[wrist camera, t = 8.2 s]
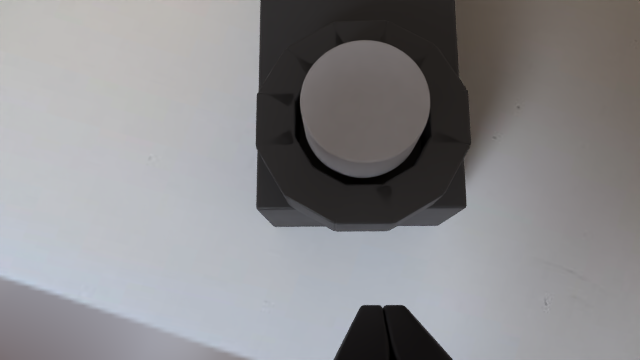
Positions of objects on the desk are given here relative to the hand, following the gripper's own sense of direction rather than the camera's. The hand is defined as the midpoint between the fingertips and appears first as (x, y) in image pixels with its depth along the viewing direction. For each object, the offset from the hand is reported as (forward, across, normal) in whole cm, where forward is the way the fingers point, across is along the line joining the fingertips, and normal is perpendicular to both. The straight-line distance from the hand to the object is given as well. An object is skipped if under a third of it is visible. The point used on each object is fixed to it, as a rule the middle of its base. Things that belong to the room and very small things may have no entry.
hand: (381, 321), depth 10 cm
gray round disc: (+8, 0, 0) cm, 8 cm away
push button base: (+16, 0, -2) cm, 16 cm away
